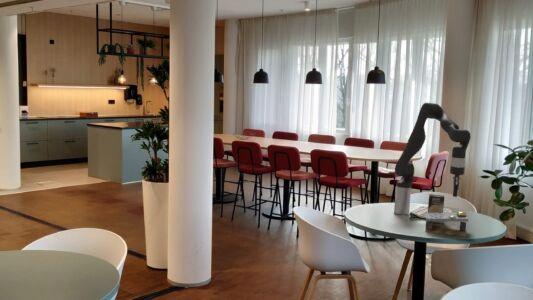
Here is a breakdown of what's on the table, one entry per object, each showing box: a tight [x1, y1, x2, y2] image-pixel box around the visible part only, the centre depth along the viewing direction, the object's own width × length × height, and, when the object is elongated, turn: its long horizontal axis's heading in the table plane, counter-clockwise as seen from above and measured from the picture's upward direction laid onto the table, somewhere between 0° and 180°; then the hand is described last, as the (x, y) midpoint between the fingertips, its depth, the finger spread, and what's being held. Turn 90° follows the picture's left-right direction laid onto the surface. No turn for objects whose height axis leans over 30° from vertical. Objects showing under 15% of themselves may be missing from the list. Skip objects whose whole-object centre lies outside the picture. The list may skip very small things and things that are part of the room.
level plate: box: [425, 210, 469, 223], centre depth 309 cm, size 22×16×4 cm
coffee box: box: [427, 193, 445, 225], centre depth 329 cm, size 9×6×16 cm
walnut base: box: [425, 220, 468, 237], centre depth 310 cm, size 22×17×6 cm
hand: (454, 196), depth 302 cm, fingers closed
